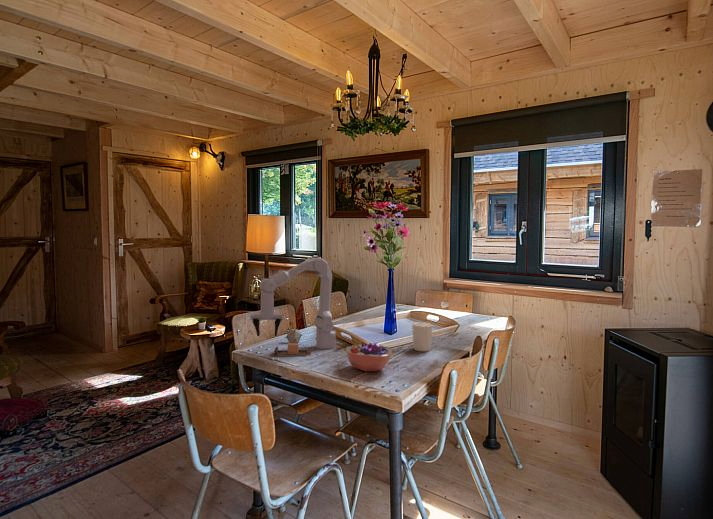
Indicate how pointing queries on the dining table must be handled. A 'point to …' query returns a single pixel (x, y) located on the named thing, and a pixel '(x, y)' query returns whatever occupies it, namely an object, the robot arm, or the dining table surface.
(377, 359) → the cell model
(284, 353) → the brown boxy piece
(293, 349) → the block
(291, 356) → the lane rails
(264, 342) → the dining table surface
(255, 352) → the dining table surface
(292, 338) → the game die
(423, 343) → the candle holder
